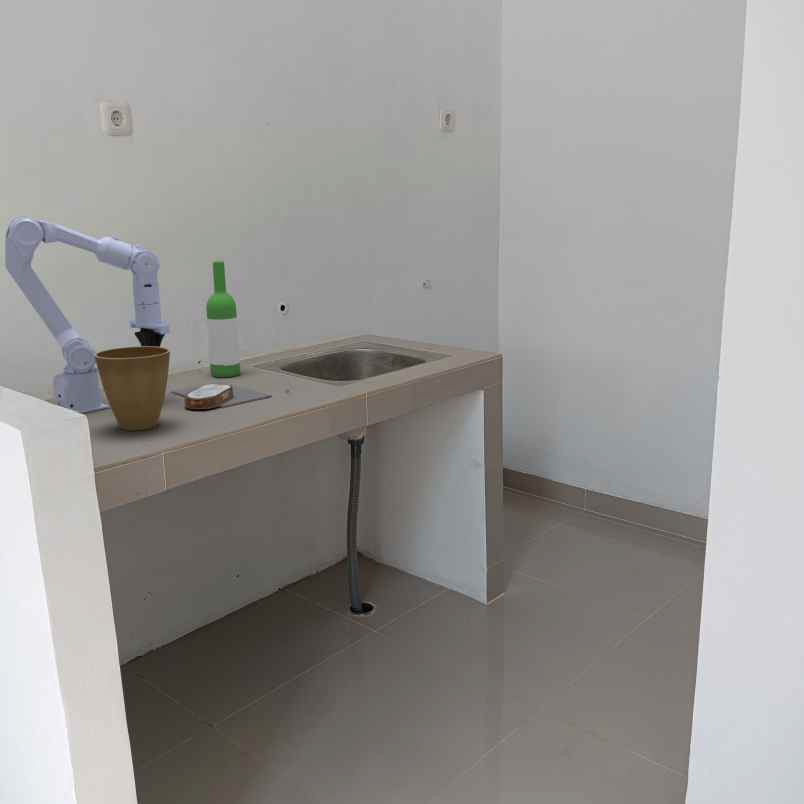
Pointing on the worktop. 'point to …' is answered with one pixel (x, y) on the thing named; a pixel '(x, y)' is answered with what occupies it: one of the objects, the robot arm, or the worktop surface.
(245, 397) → the mat
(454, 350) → the worktop surface
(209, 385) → the tin
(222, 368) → the wine bottle
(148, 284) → the robot arm
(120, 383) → the plant pot
